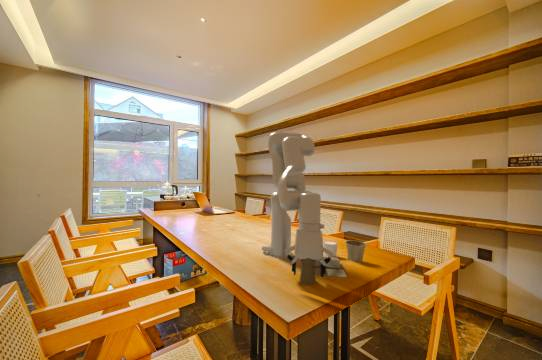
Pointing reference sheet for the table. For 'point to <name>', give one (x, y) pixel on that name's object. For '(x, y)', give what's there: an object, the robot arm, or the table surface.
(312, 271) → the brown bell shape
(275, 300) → the table surface
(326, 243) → the shot glass
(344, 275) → the board
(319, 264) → the jaw
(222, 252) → the table surface
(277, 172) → the robot arm
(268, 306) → the table surface
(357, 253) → the flower pot
